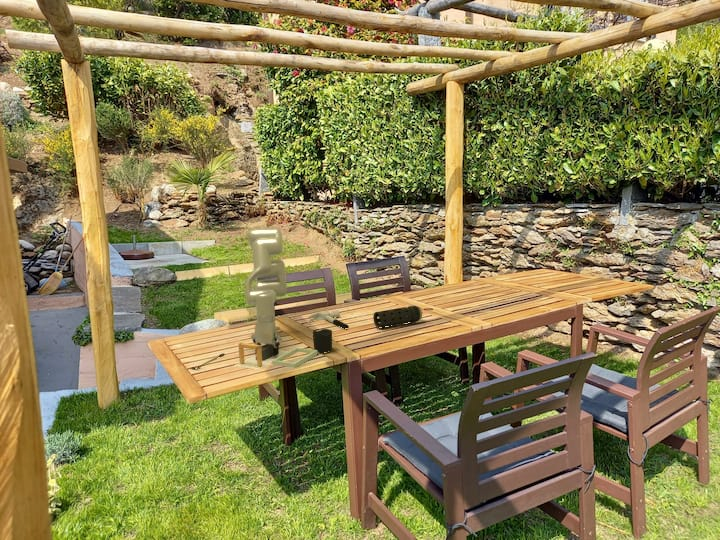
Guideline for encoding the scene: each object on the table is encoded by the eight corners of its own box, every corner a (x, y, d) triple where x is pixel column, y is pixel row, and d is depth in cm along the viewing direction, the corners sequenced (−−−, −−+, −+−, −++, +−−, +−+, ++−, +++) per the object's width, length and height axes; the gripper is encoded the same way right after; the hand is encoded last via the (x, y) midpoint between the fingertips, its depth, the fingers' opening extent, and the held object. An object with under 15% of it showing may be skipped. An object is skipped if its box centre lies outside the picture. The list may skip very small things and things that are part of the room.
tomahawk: (202, 373, 209) (202, 371, 209) (190, 370, 212) (190, 368, 212) (232, 357, 228) (232, 355, 228) (222, 354, 231) (221, 352, 231)
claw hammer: (360, 320, 273) (336, 308, 298) (326, 326, 262) (304, 314, 287) (360, 329, 274) (336, 317, 299) (326, 336, 263) (304, 322, 288)
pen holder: (316, 348, 237) (315, 328, 235) (334, 348, 235) (333, 329, 234) (311, 354, 228) (310, 334, 226) (330, 354, 226) (329, 334, 225)
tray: (296, 352, 231) (296, 347, 231) (317, 355, 226) (317, 350, 226) (272, 365, 213) (272, 360, 213) (294, 369, 208) (294, 363, 208)
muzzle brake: (373, 327, 272) (372, 309, 270) (414, 320, 284) (413, 303, 282) (381, 331, 263) (380, 313, 262) (423, 324, 276) (422, 306, 274)
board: (268, 349, 236) (268, 348, 236) (291, 353, 230) (291, 351, 230) (233, 367, 213) (233, 365, 213) (258, 371, 207) (258, 369, 207)
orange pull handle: (242, 362, 216) (241, 342, 215) (262, 365, 211) (261, 345, 210) (239, 363, 214) (238, 343, 213) (259, 366, 210) (258, 346, 208)
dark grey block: (272, 351, 231) (272, 341, 230) (280, 352, 229) (279, 342, 229) (254, 360, 218) (253, 350, 218) (262, 361, 217) (261, 351, 216)
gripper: (245, 319, 222) (247, 354, 224) (275, 322, 214) (277, 358, 217) (255, 315, 228) (257, 349, 231) (285, 318, 221) (287, 353, 223)
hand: (267, 354), depth 224 cm, fingers open, 9 cm apart
